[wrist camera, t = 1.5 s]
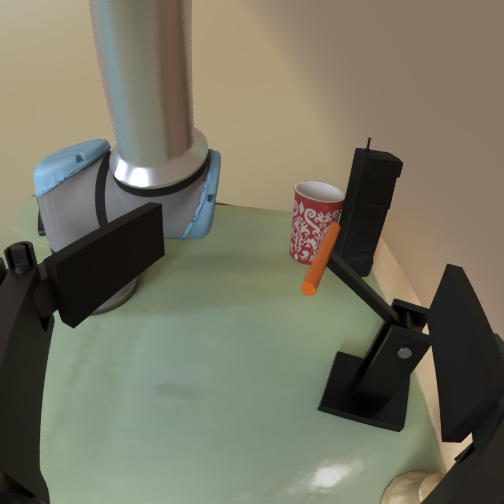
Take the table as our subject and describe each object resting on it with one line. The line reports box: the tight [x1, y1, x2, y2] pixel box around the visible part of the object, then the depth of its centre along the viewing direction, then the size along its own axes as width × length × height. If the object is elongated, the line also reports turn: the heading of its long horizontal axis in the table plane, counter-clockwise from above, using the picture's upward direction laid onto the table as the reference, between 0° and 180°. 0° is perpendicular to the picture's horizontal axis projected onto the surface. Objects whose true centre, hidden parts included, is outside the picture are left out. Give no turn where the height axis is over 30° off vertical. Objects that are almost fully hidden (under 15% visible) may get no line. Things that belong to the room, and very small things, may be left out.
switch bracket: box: [318, 298, 431, 432], centre depth 30 cm, size 11×9×14 cm
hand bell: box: [381, 471, 446, 504], centre depth 16 cm, size 8×8×16 cm
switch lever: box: [301, 222, 422, 333], centre depth 27 cm, size 14×11×2 cm
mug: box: [290, 181, 346, 265], centre depth 56 cm, size 13×9×14 cm
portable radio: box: [332, 138, 403, 277], centre depth 50 cm, size 8×6×25 cm
